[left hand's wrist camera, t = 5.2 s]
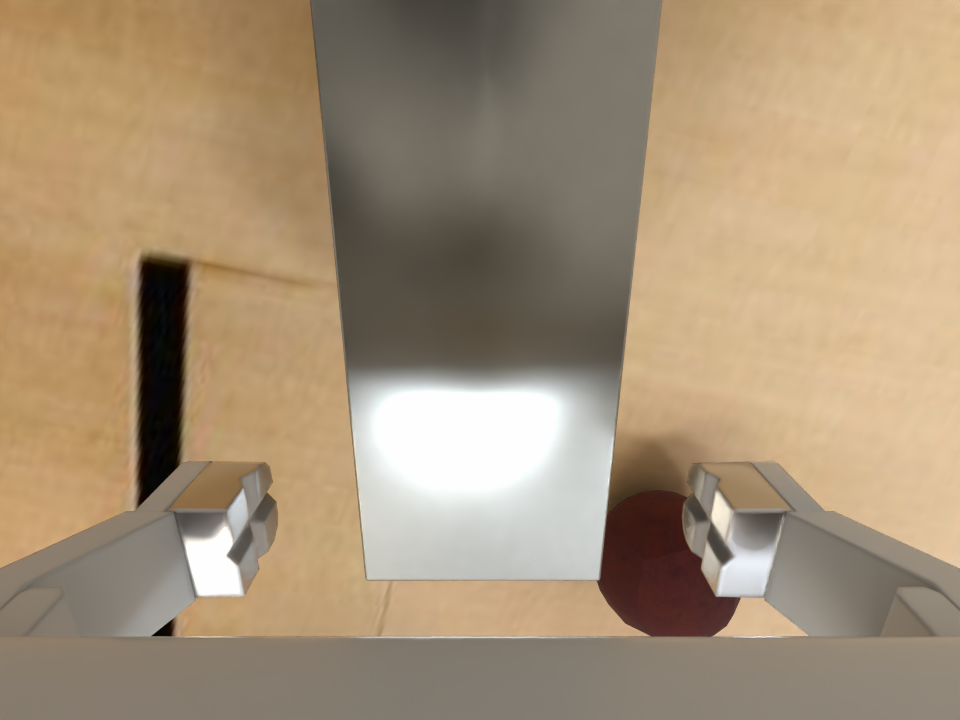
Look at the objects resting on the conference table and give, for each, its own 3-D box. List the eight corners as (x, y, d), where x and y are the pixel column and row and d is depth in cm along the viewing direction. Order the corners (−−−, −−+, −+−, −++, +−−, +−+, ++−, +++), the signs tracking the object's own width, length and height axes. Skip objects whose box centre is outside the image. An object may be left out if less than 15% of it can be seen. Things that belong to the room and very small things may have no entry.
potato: (699, 453, 30) (761, 538, 23) (716, 559, 32) (776, 662, 26) (570, 484, 30) (595, 575, 24) (597, 585, 33) (626, 692, 27)
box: (554, 419, 21) (600, 581, 13) (408, 419, 21) (365, 581, 13) (602, -399, 13) (803, -1289, 5) (366, -400, 13) (184, -1296, 5)
